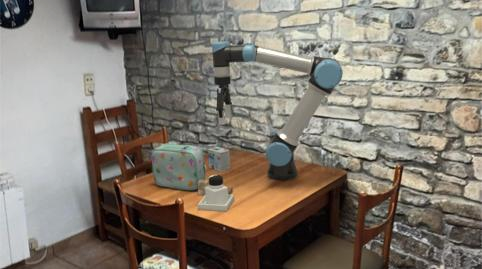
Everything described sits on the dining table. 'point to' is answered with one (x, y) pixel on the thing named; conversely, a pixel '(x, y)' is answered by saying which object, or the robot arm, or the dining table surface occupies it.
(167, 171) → the lunch box
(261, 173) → the dining table surface
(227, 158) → the light bulb box
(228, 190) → the board
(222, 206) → the tray
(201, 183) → the clear glass cylinder
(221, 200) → the medicine bottle
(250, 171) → the dining table surface
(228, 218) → the dining table surface
